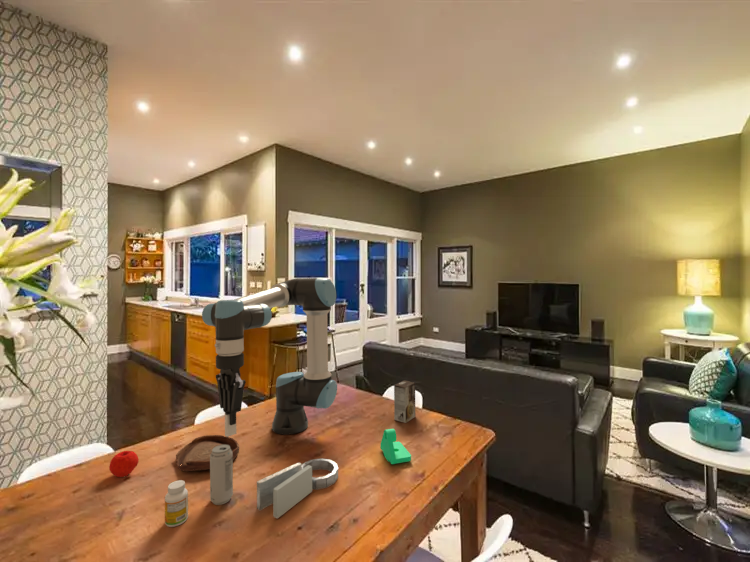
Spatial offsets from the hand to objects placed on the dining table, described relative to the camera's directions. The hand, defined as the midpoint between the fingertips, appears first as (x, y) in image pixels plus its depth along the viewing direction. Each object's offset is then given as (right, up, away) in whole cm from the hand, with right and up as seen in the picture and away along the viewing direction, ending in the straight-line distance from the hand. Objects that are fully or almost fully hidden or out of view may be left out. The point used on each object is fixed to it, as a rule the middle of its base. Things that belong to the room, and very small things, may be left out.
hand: (230, 434), depth 102 cm
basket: (-18, -20, +24) cm, 36 cm away
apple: (-41, -20, +14) cm, 48 cm away
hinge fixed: (+19, -19, +6) cm, 27 cm away
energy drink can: (-3, -20, +1) cm, 20 cm away
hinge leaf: (+19, -19, -2) cm, 27 cm away
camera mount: (+49, -19, +25) cm, 59 cm away
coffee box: (+56, -19, +60) cm, 84 cm away
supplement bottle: (-11, -20, -8) cm, 24 cm away
